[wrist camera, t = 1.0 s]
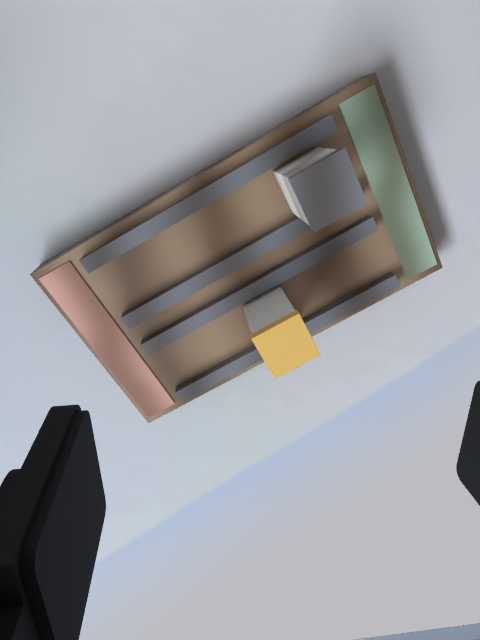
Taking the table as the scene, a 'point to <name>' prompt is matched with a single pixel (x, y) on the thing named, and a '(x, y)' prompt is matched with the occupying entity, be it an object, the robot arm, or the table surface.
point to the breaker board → (248, 251)
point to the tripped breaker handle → (279, 332)
